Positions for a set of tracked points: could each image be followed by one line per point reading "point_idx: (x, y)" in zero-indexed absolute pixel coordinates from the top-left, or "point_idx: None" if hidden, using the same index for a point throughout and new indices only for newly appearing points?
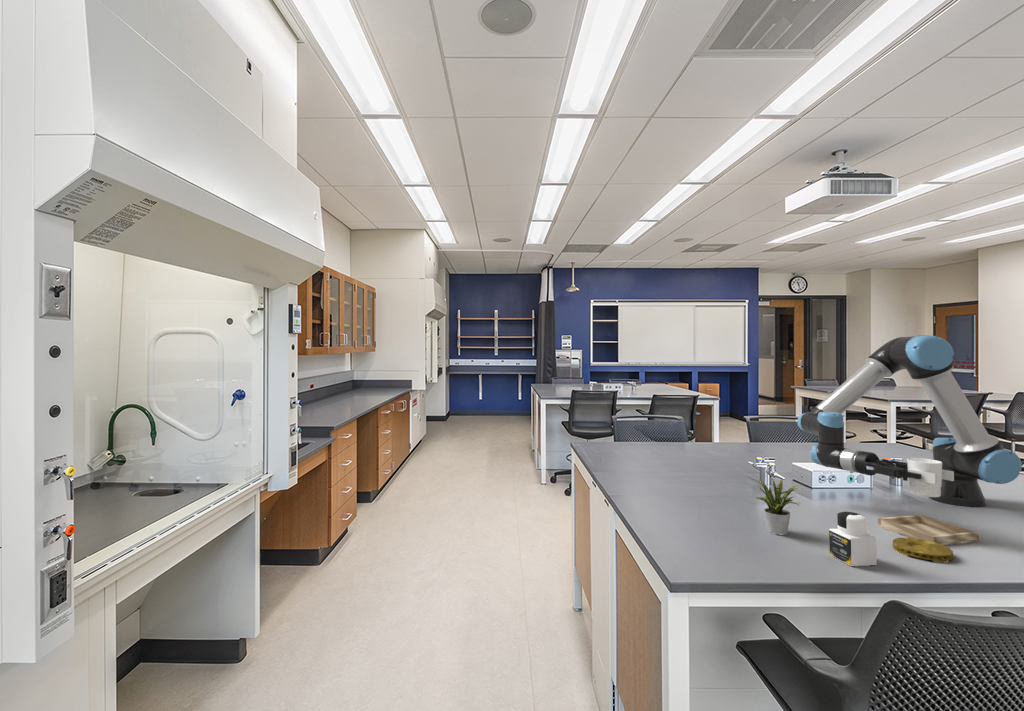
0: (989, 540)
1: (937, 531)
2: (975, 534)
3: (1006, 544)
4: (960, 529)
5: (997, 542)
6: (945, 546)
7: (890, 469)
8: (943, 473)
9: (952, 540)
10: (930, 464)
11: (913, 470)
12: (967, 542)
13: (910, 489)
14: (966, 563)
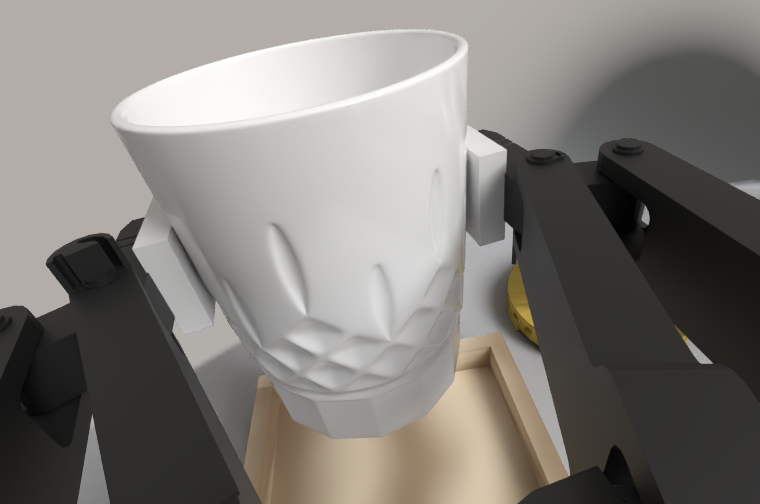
0: (215, 410)
1: (337, 495)
2: None
3: (210, 375)
4: (269, 431)
5: (214, 392)
6: (508, 289)
7: (711, 192)
8: None
9: None
10: (372, 45)
11: (483, 135)
12: None
13: (453, 364)
14: (501, 260)
